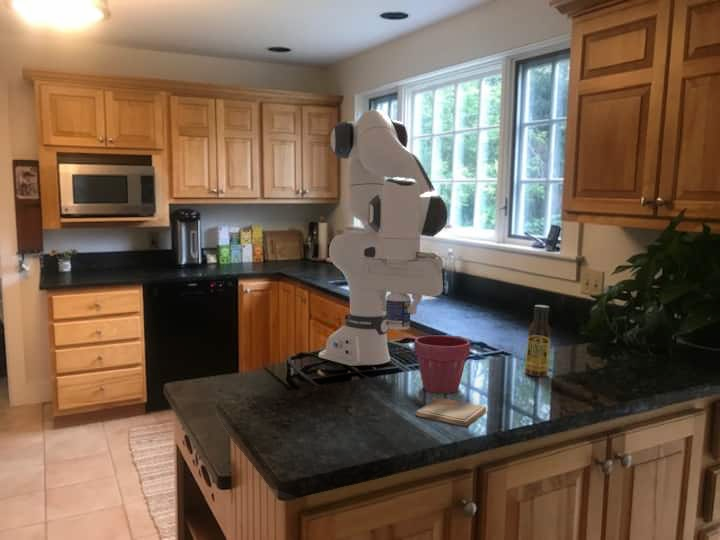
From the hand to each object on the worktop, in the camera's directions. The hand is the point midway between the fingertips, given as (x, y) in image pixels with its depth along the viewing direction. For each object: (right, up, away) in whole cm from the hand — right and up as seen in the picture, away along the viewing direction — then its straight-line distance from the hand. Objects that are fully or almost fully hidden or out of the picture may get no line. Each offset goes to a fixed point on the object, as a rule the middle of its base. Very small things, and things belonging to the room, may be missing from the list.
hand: (398, 312), depth 135 cm
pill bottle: (0, -4, 0) cm, 4 cm away
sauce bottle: (+42, -20, +36) cm, 59 cm away
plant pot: (+12, -22, +21) cm, 33 cm away
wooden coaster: (+12, -23, +2) cm, 26 cm away
